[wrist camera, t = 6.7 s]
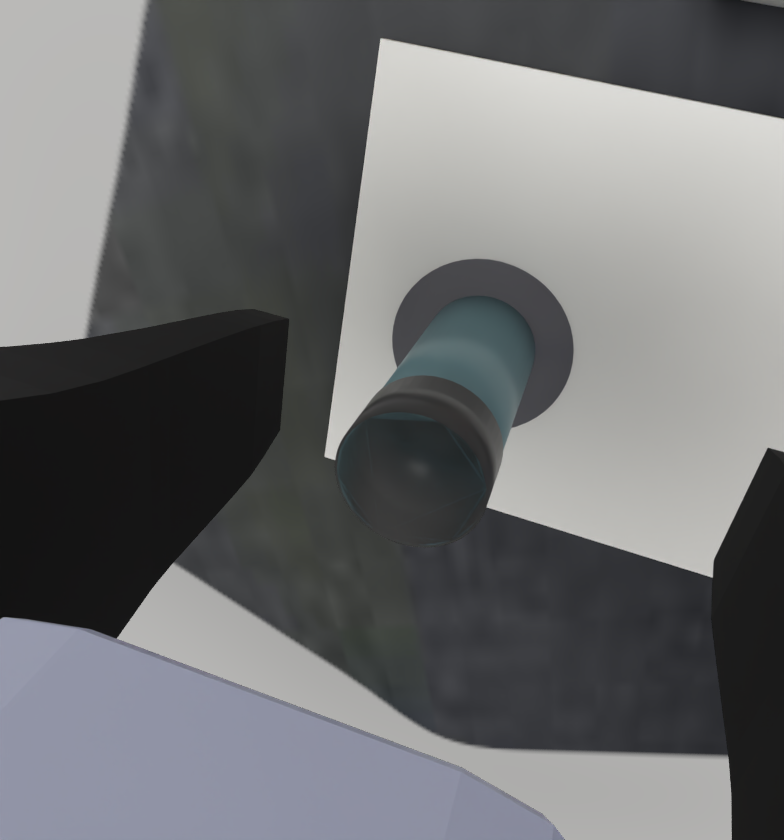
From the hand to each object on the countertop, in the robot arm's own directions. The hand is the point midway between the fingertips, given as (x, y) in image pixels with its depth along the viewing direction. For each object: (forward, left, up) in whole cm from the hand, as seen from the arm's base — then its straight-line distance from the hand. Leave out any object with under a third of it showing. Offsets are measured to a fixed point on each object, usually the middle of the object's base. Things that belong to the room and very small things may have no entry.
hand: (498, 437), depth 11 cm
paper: (-2, +2, -9) cm, 10 cm away
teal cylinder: (+2, +3, -9) cm, 9 cm away
